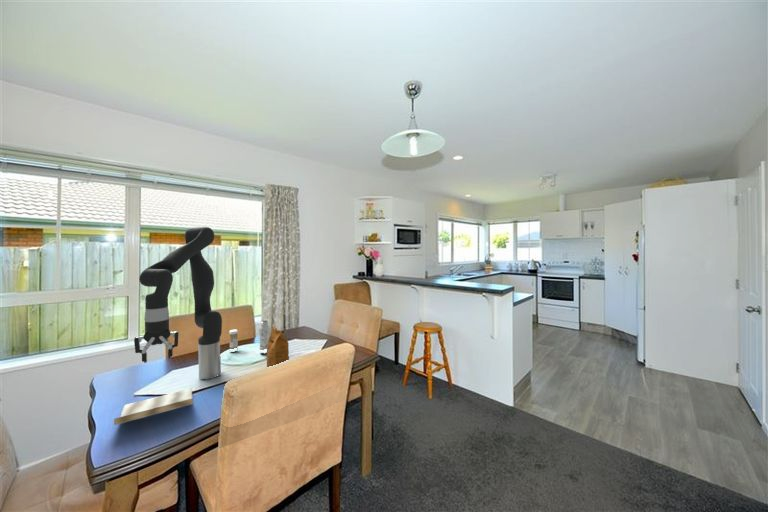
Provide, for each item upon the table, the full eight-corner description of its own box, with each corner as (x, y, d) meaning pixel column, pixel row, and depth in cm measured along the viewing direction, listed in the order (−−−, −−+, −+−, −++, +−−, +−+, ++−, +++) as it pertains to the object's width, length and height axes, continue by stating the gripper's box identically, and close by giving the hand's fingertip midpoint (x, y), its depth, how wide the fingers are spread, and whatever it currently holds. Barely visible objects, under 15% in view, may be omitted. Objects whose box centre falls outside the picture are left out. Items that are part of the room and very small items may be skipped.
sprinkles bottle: (228, 351, 174) (228, 330, 173) (236, 349, 177) (235, 328, 177) (231, 353, 171) (231, 331, 170) (239, 351, 174) (238, 330, 174)
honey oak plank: (192, 403, 115) (192, 398, 116) (193, 403, 106) (193, 398, 107) (119, 423, 102) (120, 417, 102) (113, 425, 93) (114, 418, 94)
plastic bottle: (273, 352, 173) (272, 320, 172) (265, 356, 166) (264, 323, 166) (264, 351, 175) (264, 319, 174) (256, 354, 169) (256, 322, 168)
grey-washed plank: (191, 392, 124) (191, 388, 124) (192, 402, 116) (192, 398, 116) (124, 409, 111) (124, 404, 111) (120, 422, 103) (120, 417, 103)
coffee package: (282, 362, 157) (282, 324, 156) (291, 370, 147) (290, 329, 147) (264, 367, 150) (263, 327, 150) (271, 375, 141) (271, 332, 140)
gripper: (179, 314, 118) (179, 353, 119) (134, 319, 110) (135, 361, 110) (179, 318, 112) (179, 358, 113) (131, 323, 104) (132, 367, 104)
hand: (157, 359), depth 111 cm, fingers open, 7 cm apart
